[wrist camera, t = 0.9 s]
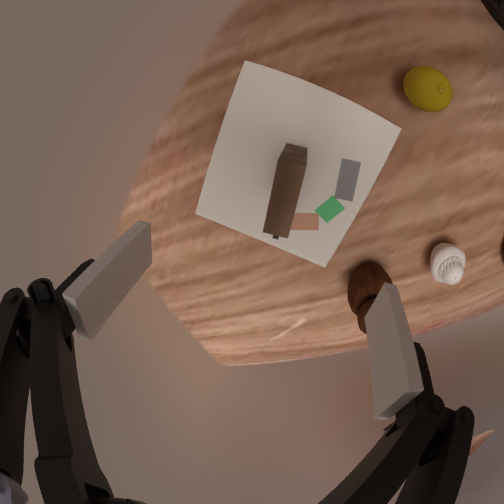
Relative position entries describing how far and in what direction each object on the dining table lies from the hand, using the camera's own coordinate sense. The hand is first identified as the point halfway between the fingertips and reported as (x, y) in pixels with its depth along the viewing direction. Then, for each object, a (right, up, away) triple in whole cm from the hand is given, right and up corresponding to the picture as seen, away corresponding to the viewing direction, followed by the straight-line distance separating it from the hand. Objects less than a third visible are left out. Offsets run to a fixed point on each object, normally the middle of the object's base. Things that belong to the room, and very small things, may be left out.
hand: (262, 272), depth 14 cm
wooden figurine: (+17, -2, +25) cm, 30 cm away
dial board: (+5, +12, +19) cm, 23 cm away
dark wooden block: (+4, +8, +19) cm, 21 cm away
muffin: (+28, +1, +20) cm, 35 cm away
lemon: (+19, +21, +10) cm, 30 cm away
